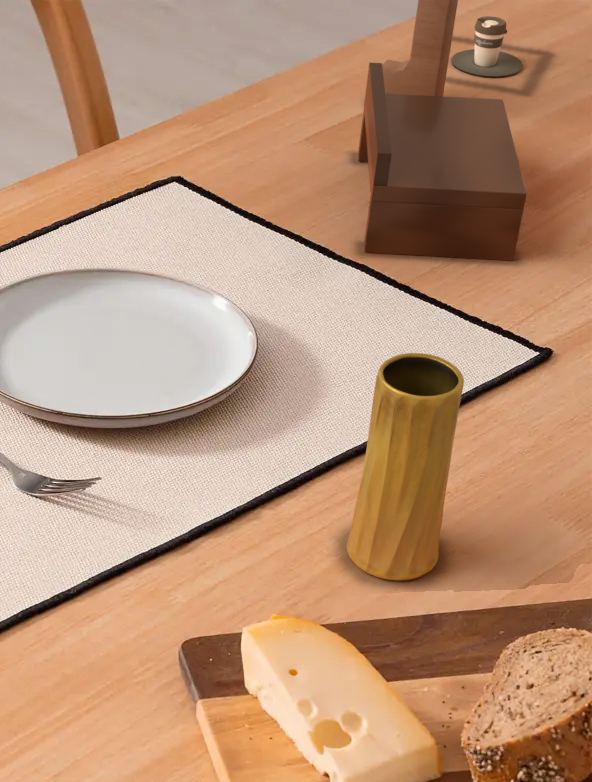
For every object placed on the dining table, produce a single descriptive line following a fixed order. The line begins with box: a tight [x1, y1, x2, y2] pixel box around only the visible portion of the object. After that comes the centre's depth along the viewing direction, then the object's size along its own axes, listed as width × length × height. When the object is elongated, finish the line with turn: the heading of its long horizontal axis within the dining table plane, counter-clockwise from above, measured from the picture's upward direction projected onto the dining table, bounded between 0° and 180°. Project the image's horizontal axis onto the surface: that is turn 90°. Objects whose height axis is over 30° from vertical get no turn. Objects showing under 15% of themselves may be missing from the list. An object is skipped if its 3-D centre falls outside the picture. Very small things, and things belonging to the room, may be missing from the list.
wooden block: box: [382, 0, 459, 96], centre depth 158 cm, size 7×3×15 cm, turn 63°
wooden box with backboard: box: [357, 62, 527, 262], centre depth 142 cm, size 13×20×10 cm, turn 174°
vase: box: [346, 352, 465, 581], centre depth 100 cm, size 6×6×14 cm
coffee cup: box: [450, 15, 524, 78], centre depth 170 cm, size 12×12×5 cm
